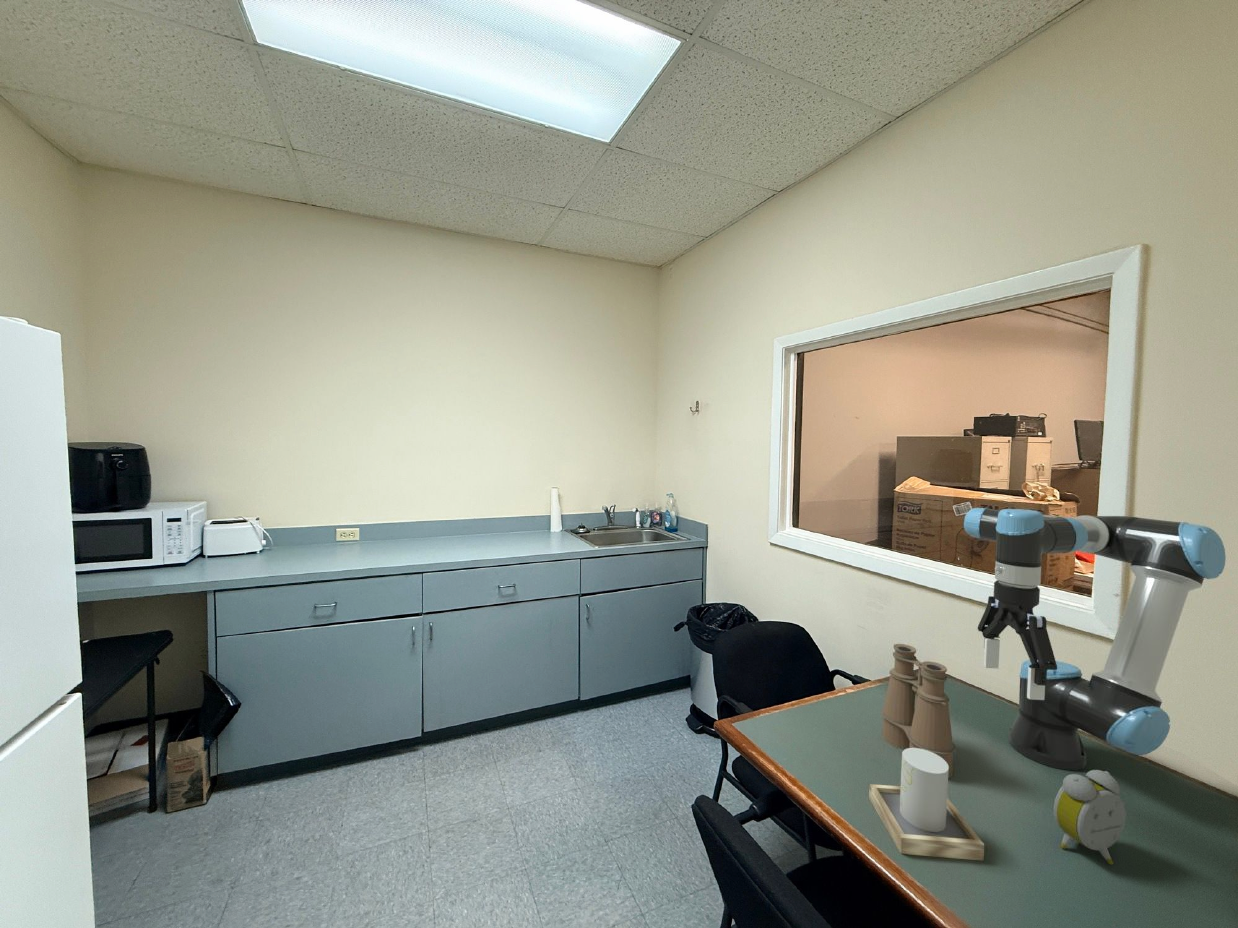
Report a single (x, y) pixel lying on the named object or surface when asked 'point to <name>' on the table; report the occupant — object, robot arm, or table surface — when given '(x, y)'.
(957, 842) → the square picture frame
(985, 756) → the table surface
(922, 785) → the white cylinder
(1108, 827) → the alarm clock
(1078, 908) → the table surface
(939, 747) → the binoculars
